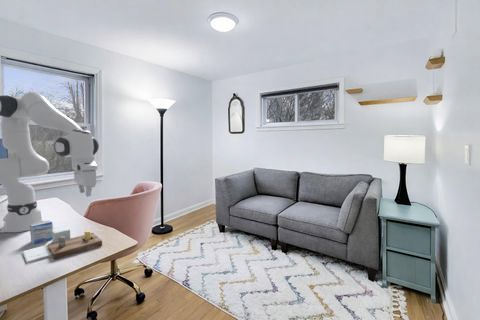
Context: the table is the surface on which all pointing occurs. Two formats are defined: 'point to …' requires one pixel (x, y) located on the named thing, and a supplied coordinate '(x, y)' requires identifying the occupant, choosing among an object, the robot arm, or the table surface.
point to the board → (73, 245)
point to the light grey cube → (60, 233)
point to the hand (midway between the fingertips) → (85, 194)
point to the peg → (87, 235)
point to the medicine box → (41, 231)
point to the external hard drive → (36, 254)
